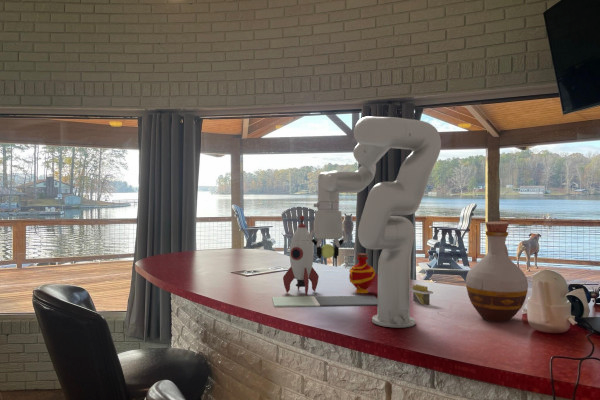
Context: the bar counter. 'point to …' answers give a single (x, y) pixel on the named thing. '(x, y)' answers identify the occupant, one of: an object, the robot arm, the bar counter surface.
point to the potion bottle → (362, 274)
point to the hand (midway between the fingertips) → (327, 257)
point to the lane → (325, 301)
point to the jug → (496, 279)
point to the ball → (327, 251)
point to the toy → (301, 261)
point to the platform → (421, 294)
